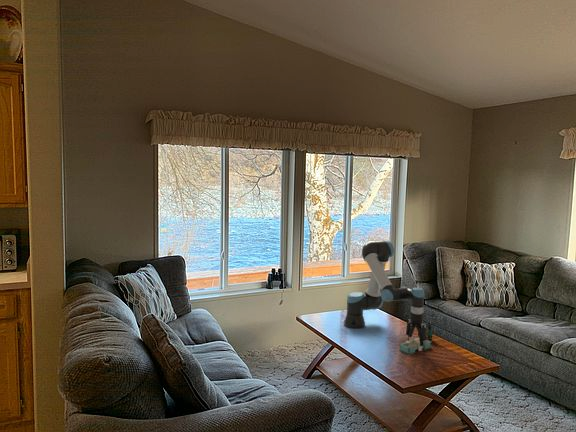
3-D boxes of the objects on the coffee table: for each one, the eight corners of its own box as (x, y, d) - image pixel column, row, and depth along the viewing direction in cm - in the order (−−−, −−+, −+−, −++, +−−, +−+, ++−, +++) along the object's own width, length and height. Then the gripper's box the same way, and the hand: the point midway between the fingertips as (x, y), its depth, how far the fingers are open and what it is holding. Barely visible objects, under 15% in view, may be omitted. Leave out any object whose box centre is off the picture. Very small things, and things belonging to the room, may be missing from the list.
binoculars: (416, 323, 293) (432, 322, 291) (417, 338, 294) (433, 338, 292) (417, 327, 285) (433, 327, 283) (418, 343, 285) (434, 343, 283)
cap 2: (430, 347, 275) (431, 341, 275) (425, 349, 272) (425, 343, 272) (421, 344, 281) (421, 338, 281) (415, 345, 278) (415, 339, 278)
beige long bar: (404, 349, 269) (404, 341, 269) (420, 344, 279) (421, 336, 278) (409, 351, 266) (410, 343, 266) (425, 346, 275) (426, 338, 275)
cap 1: (399, 350, 270) (399, 344, 270) (405, 348, 273) (405, 342, 273) (409, 354, 264) (409, 348, 263) (415, 352, 267) (415, 346, 266)
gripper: (400, 309, 277) (399, 344, 278) (425, 317, 260) (424, 355, 262) (408, 307, 281) (407, 342, 283) (433, 316, 265) (432, 352, 266)
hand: (415, 348), depth 272 cm, fingers open, 7 cm apart
